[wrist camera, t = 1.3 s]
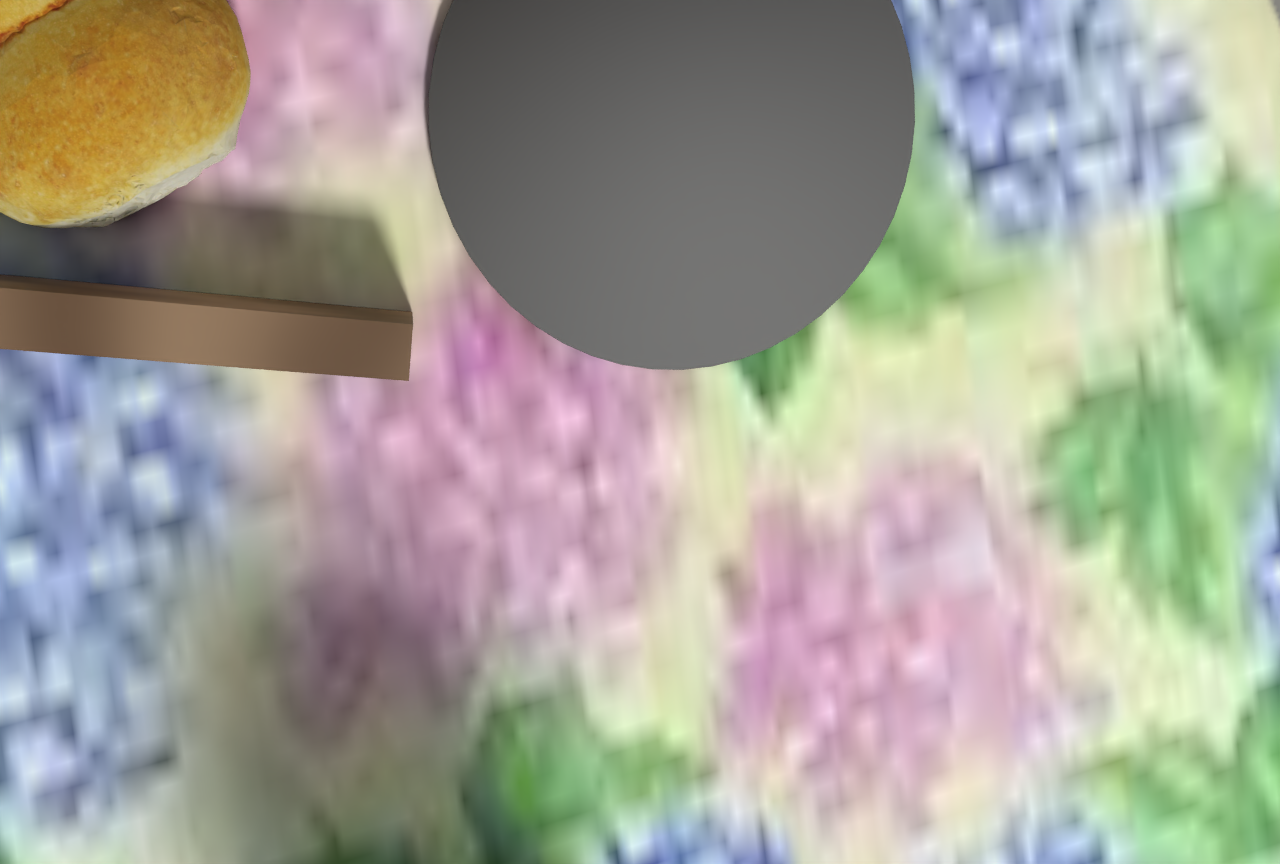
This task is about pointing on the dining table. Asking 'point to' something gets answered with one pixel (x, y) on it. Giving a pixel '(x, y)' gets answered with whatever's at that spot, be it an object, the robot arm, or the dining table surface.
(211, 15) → the bread roll
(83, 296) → the chute
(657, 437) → the dining table surface
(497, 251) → the mat
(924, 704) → the dining table surface
